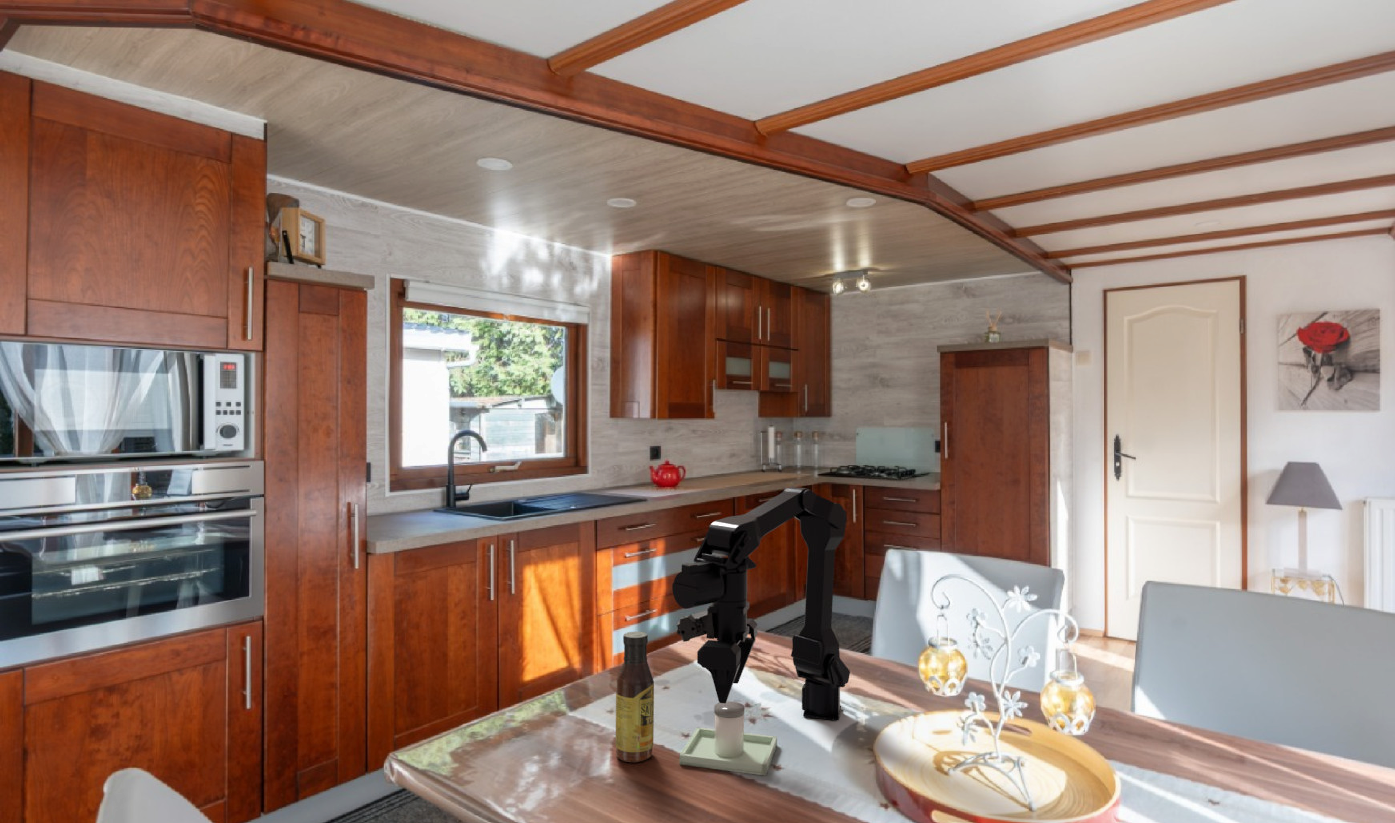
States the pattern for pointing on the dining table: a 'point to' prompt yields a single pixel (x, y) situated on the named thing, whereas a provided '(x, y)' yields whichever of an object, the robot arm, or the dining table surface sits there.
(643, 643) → the sauce bottle
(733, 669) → the robot arm
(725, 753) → the spice jar
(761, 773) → the tray
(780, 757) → the dining table surface
